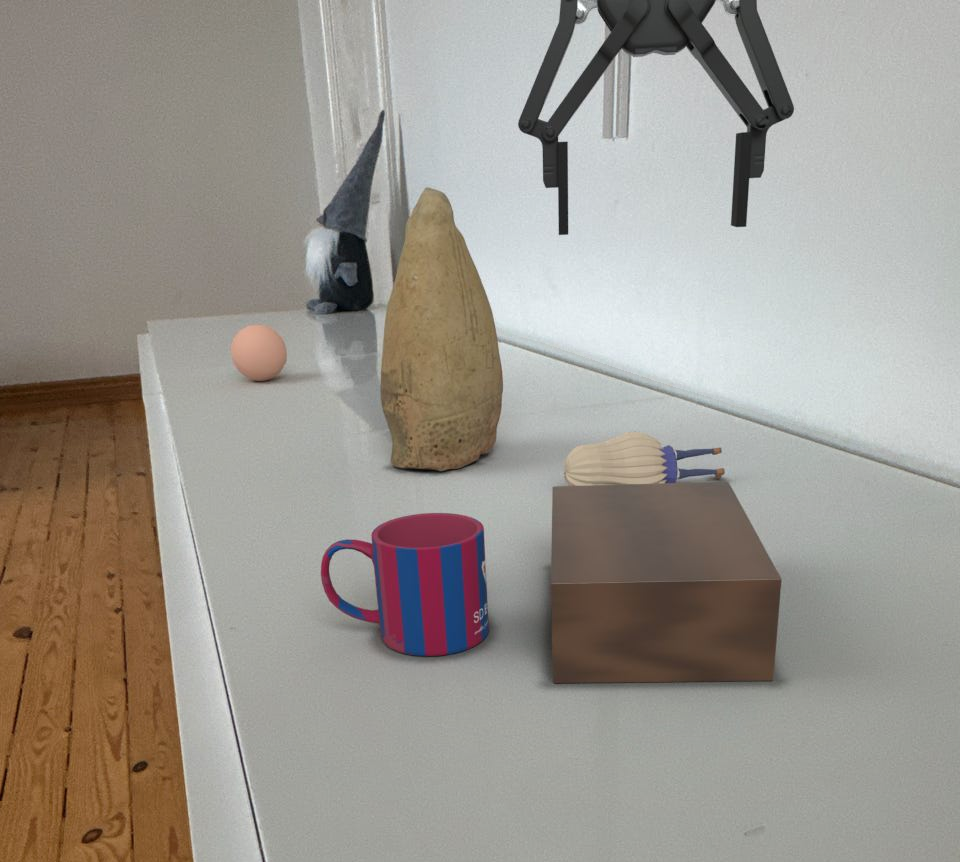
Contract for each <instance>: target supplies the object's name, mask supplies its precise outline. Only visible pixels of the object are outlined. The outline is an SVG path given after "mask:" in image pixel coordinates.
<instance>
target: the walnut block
mask: <svg viewBox="0 0 960 862" xmlns="http://www.w3.org/2000/svg"><path fill="white" fill-rule="evenodd" d="M551 492H552V497H551V498H552V499H551V501H552V502H551V549H550V550H551V551H550V552H551V555H550V605H551V606H550V607H551V608H550V609H551V610H550V611H551V653H552V654H551V655H552V656H551V657H552V683H553V684H592V683H593V684H597V683H598V684H599V683H600V684H601V683H603V684H604V683H674V682H675V683H682V682H683V683H685V682H689V683H690V682H695V683H696V682H769V681H774V675H775V665H776V664H775V663H776V652H777V640H778V639H777V638H778V627H779V618H780V617H779V616H780V605H781V603H780V602H781V591H782V577H781V575H780V573H779V571H778V570H777V568H776V566H775V564H774V562H773V561H772V558H771V557H770V555H769V553H768V551H767V550H766V547H765V546H764V544H763V542H762V540H761V538H760V536H759V535H758V533H757V531H756V530H755V527H754V526H753V524H752V522H751V520H750V518H749V517H748V515H747V513H746V511H745V509H744V508H743V506H742V504H741V502H740V500H739V498H738V497H737V494H736V493H735V491H734V489H733V487H732V485H731V484H730V482H729V481H706V482H705V481H701V482H699V481H698V482H697V481H695V482H675V483H661V484H626V485H591V486H569V485H559V486H552V491H551Z"/></svg>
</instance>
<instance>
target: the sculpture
mask: <svg viewBox="0 0 960 862" xmlns="http://www.w3.org/2000/svg"><path fill="white" fill-rule="evenodd" d="M404 231H405V233H404V235H405V236H404V243H403V246H402V250H401V253H400V258H399V261H398V264H397V269H396V274H395V278H394V282H393V286H392V289H391V292H390V296H389V298H388V301H387V305H386V311H385V319H384V327H383V339H382V354H381V365H380V383H379V384H380V387H379V388H380V392H379V393H380V403H381V408H382V413H383V415H384V418H385V421H386V423H387V427H388V430H389V433H390V436H391V441H392V445H391V446H392V447H391V454H390V463H391V466H392V467H396V468H400V469H416V470H428V471H436V472H443V471H449V470H456V469H457V470H459V469H461V468H463V467H466V466H467V465H470V464H472V463H474V462H476V461H478V460H479V458H480V456H481V455H485V454H489V453H490V451H491V450H492V449H493V447H494V446H495V444H496V442H497V436H498V435H497V432H498V425H499V421H500V420H501V419H500V418H501V413H502V406H503V405H502V404H503V392H504V376H503V367H502V361H501V355H500V348H499V347H500V346H499V340H498V335H497V328H496V324H495V319H494V313H493V309H492V307H491V304H490V301H489V297H488V295H487V291H486V290H485V289H486V288H485V287H484V284H483V281H482V279H481V276H480V274H479V271H478V269H477V266H476V264H475V262H474V260H473V258H472V255H471V253H470V250H469V249H468V248H469V247H468V245H467V243H466V240H465V237H464V235H463V233H462V232H461V231H460V229H459V228H458V227H457V225H456V222H455V216H454V210H453V207H452V204H451V201H450V200H449V198H448V196H447V195H446V194H445V193H444V192H443V191H442V190H441V191H440V190H438V189H435V188H431V187H424V189H423V191H422V193H421V194H420V195H419V198H418V200H417V202H416V204H415V205H414V207H413V208H412V212H411V214H410V216H409V217H408V219H407V221H406V222H405V230H404Z"/></svg>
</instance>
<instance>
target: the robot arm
mask: <svg viewBox="0 0 960 862" xmlns="http://www.w3.org/2000/svg"><path fill="white" fill-rule="evenodd" d="M757 1H758V0H560V3H559V5H560V6H559V17H558V23H557V25H556V28H555V31H554V33H553V35H552V38H551V41H550V42H549V45H548V47H547V50H546V53H545V55H544V58H543V60H542V62H541V65H540V67H539V69H538V73H537V75H536V77H535V80H534V81H533V84H532V86H531V90H530V92H529V95H528V97H527V99H526V102H525V104H524V106H523V109H522V111H521V114H520V117H519V118H518V121H517V122H518V123H517V126H518V129H519V131H520V132H521V133H523V134H525V135H529V136H531V137H534V138H536V139H537V140H539V141H540V143H541V146H542V182H543V185H544V188H545V189H555V188H556V189H557V195H558V196H557V203H558V205H557V206H558V207H557V209H558V216H557V217H558V236H567V235H568V236H569V142H568V141H559V137H560V135H561V133H562V132H563V130H564V129H565V128H566V126H568V123H569V122H570V121H571V119H572V118H573V116H574V115H575V114H576V112H577V111H578V109H579V108H580V107H581V106H582V104H583V102H584V101H585V100H586V98H587V97H588V95H589V94H590V93H591V92H592V90H593V89H594V88H595V86H596V84H597V83H598V82H599V80H600V79H601V78H602V76H603V75H604V74H605V72H606V71H607V69H608V68H609V67H610V65H611V64H612V63H613V61H614V60H615V59H616V57H617V56H618V54H619V53H620V51H622V50H623V52H624V53H625V54H627V55H628V56H631V57H632V58H644V57H645V56H649V55H652V54H657V55H662V56H674V55H676V54H678V53H680V52H682V51H683V50H685V48H687V50H688V51H689V52H690V54H691V55H692V57H693V58H694V60H696V61H697V62H698V63H699V64H700V66H701V67H702V69H703V70H704V71H705V72H706V74H707V76H708V77H709V78H710V79H711V81H712V82H713V83H714V85H715V86H716V88H717V89H718V90H719V91H720V93H721V94H722V95H723V97H724V98H725V100H726V101H727V102H728V104H729V105H730V106H731V108H732V109H733V111H734V112H735V114H737V116H738V117H739V119H740V120H741V122H742V123H743V124H744V125H745V127H746V131H744V132H737V133H735V147H734V162H733V164H734V165H733V179H732V180H733V182H732V197H731V218H730V226H731V227H734V228H747V224H748V223H747V221H748V206H749V204H748V203H749V190H750V187H749V186H750V179H760V178H762V175H763V173H764V171H765V160H766V147H767V146H766V145H767V134H768V131H769V129H770V128H771V127H772V126H774V125H776V124H778V123H780V122H782V121H785V120H787V119H790V118H791V117H792V116H793V114H794V112H795V106H794V103H793V100H792V98H791V95H790V92H789V90H788V87H787V85H786V82H785V79H784V76H783V74H782V72H781V69H780V66H779V63H778V61H777V58H776V55H775V53H774V51H773V48H772V45H771V42H770V40H769V37H768V35H767V33H766V29H765V27H764V25H763V21H762V19H761V16H760V14H759V11H758V2H757ZM715 3H720V4H721V5H722V6H723V9H724V13H725V14H726V15H728V16H730V17H734V20H735V24H736V25H735V26H736V28H737V31H738V34H739V36H740V38H741V42H742V44H743V46H744V49H745V52H746V54H747V57H748V59H749V62H750V64H751V67H752V70H753V72H754V75H755V78H756V79H757V82H758V84H759V85H758V86H759V87H760V91H761V93H762V95H763V98H764V101H765V102H766V106H767V107H766V108H764V109H763V108H762V105H760V103H759V102H758V100H757V99H756V98H755V96H754V95H753V94H752V93H751V91H750V90H749V88H748V86H746V84H745V83H744V81H743V80H742V78H741V77H740V76H739V74H738V73H737V72H736V70H735V69H734V67H733V66H732V65H731V63H730V62H729V61H728V59H727V58H726V56H725V55H724V54H723V53H722V51H721V49H720V48H719V47H718V45H717V44H716V42H715V40H714V38H713V37H712V36H711V34H710V33H709V31H708V30H707V28H706V26H705V25H704V24H703V22H704V21H705V20H706V18H707V16H708V14H709V13H710V12H711V11H712V9H713V7H714V5H715ZM594 10H597V12H598V14H599V16H600V17H601V19H602V21H603V22H604V24H605V25H606V27H607V28H608V30H609V31H610V33H609V34H608V36H606V38H605V40H604V42H603V43H602V44H601V46H599V49H598V50H597V52H596V53H595V55H594V56H593V57H592V59H591V60H590V61H589V63H588V64H587V65H586V67H585V69H584V70H583V71H582V73H581V74H580V75H579V77H578V78H577V80H575V83H574V84H573V85H572V87H571V88H570V89H569V91H568V92H567V94H566V95H565V96H564V98H563V99H562V101H561V102H560V103H559V105H558V107H556V109H555V110H554V112H553V113H552V115H551V116H550V118H549V119H548V121H545V120H542V119H540V115H541V113H542V111H543V108H544V106H545V103H546V102H547V98H548V96H549V94H550V91H551V89H552V87H553V84H554V82H555V79H556V77H557V74H558V72H559V70H560V67H561V65H562V63H563V60H564V58H565V55H566V53H567V51H568V48H569V45H570V44H571V41H572V38H573V35H574V31H575V28H576V26H582V25H583V24H585V23H586V21H587V18H588V16H589V14H590V13H591V12H592V11H594Z"/></svg>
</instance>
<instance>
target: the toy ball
mask: <svg viewBox="0 0 960 862" xmlns="http://www.w3.org/2000/svg"><path fill="white" fill-rule="evenodd" d="M231 342H232V343H231V345H230V354H231V360H232V362H233V365H234V366H235V368H236V370H237V371H238V372H239V373H240V374H241V375H242V376H243V377H245V378H247V379H249V380H252V381H255V382H265V381H270V380H272V379H274V378H276V377H277V376H278V375H279V374H280V373H281V372H282V370H283V369H284V367H285V365H286V364H287V358H288V352H287V346H286V343H285V341H284V339H283V337H282V336H281V335H280V334H279V333H278V331H276V330H275V329H273V328H272V327H270V326H267V325H264V324H250V325H247V326H245V327H243V328H242V329H240V330H239V331H238V332H237V333H236V334H235V336H234V338H233V339H232V341H231Z"/></svg>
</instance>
